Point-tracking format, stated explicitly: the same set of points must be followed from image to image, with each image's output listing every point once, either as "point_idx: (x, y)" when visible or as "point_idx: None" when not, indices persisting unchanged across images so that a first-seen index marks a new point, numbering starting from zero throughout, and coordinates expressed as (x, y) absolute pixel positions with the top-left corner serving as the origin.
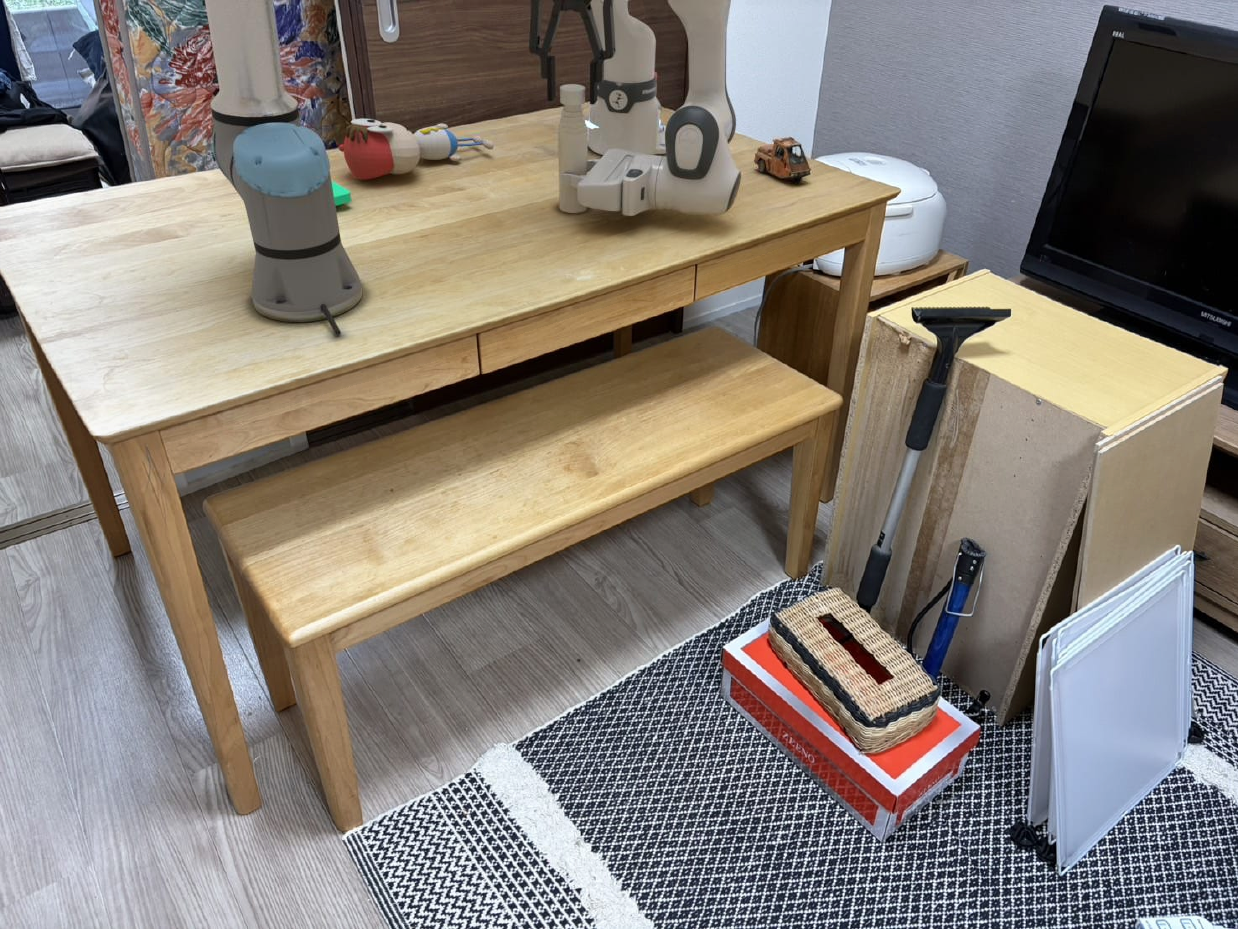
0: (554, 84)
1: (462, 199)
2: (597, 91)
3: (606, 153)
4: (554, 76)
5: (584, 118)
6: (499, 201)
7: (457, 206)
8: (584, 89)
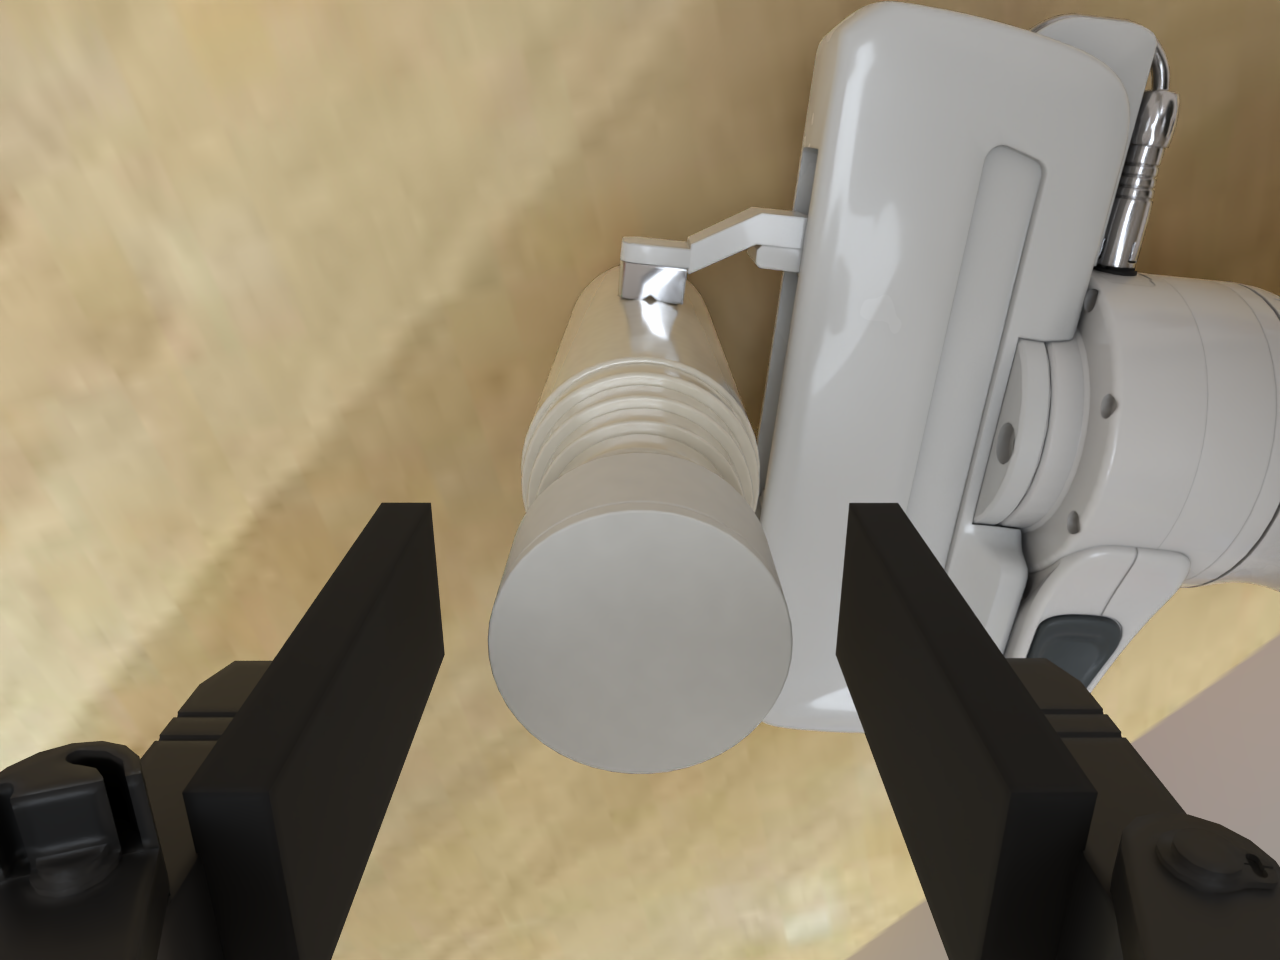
0: (399, 610)
1: (65, 355)
2: (924, 548)
3: (838, 160)
4: (374, 657)
5: (737, 454)
6: (253, 336)
7: (91, 446)
8: (788, 663)
